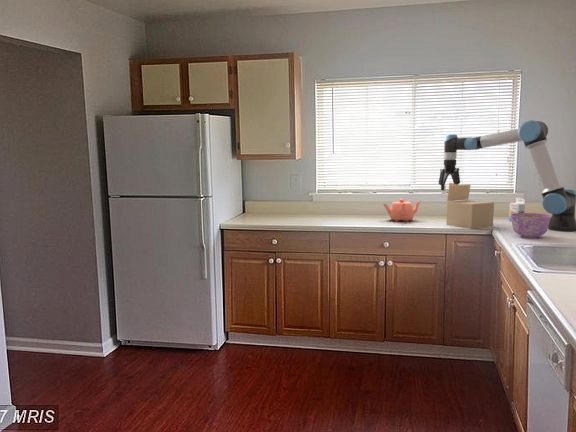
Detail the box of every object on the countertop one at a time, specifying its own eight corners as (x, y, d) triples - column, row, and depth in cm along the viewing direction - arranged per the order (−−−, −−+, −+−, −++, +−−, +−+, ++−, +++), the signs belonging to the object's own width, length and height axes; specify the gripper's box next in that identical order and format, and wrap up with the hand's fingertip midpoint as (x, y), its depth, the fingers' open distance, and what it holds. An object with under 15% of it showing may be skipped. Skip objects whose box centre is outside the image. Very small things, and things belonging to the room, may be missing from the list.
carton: (492, 226, 325) (494, 202, 323) (471, 228, 316) (472, 204, 314) (467, 222, 342) (468, 199, 340) (446, 224, 334) (447, 201, 332)
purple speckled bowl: (505, 237, 286) (506, 216, 285) (513, 232, 303) (514, 212, 301) (546, 241, 275) (548, 219, 274) (552, 235, 292) (554, 214, 290)
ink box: (508, 220, 346) (509, 197, 344) (515, 220, 348) (516, 197, 346) (517, 222, 338) (519, 199, 336) (524, 222, 340) (525, 198, 338)
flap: (470, 184, 338) (460, 181, 345) (449, 185, 329) (439, 182, 336) (468, 199, 340) (458, 196, 347) (447, 201, 332) (437, 197, 339)
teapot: (421, 220, 351) (422, 199, 349) (404, 223, 339) (404, 201, 337) (399, 217, 365) (399, 197, 363) (381, 220, 353) (381, 199, 351)
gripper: (458, 158, 348) (457, 193, 351) (432, 159, 338) (431, 195, 341) (467, 159, 341) (465, 194, 344) (441, 159, 331) (440, 196, 334)
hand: (448, 195), depth 342 cm, fingers open, 9 cm apart
